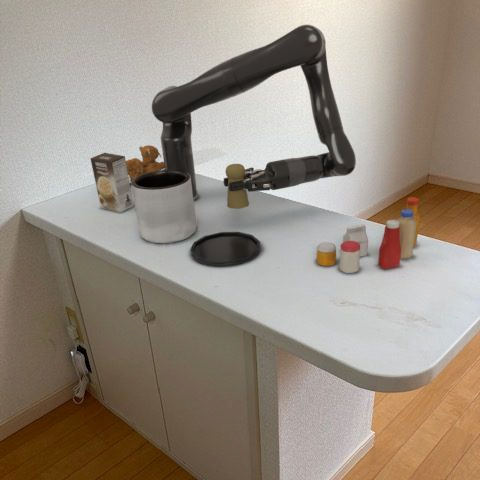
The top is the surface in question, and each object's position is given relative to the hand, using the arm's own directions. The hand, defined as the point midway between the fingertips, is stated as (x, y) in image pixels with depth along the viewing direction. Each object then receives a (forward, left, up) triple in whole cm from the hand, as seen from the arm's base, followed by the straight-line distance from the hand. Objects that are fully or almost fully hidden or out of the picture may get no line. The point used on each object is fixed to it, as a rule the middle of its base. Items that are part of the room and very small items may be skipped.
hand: (226, 184), depth 138 cm
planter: (-14, -11, -13) cm, 21 cm away
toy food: (+41, +2, -13) cm, 43 cm away
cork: (+1, +2, -6) cm, 7 cm away
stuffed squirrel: (-49, +16, -13) cm, 53 cm away
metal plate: (+7, -12, -13) cm, 19 cm away
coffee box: (-43, -4, -13) cm, 45 cm away
